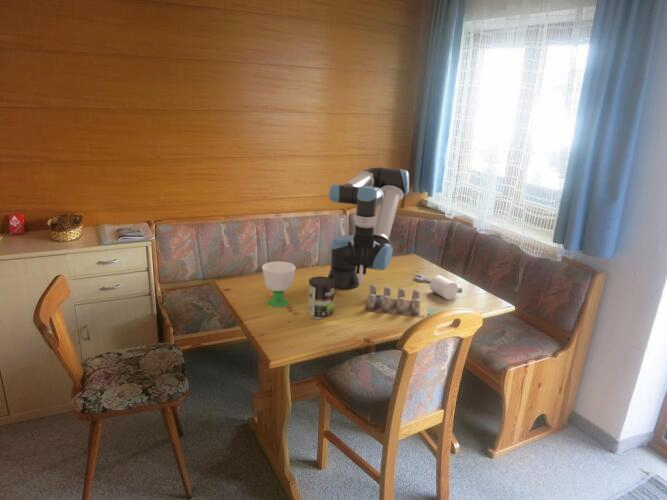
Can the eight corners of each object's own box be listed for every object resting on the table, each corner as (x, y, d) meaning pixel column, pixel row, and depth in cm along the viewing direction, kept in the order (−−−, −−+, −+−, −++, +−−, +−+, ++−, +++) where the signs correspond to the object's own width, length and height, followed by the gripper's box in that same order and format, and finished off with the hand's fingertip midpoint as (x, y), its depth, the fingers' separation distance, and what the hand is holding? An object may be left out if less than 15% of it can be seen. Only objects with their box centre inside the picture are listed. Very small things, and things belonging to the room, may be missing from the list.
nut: (372, 306, 199) (373, 298, 198) (373, 301, 204) (374, 294, 203) (383, 307, 199) (384, 299, 198) (384, 302, 204) (384, 295, 203)
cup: (281, 293, 210) (281, 259, 205) (301, 303, 201) (302, 268, 196) (254, 301, 201) (254, 265, 196) (275, 312, 192) (275, 275, 187)
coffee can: (338, 313, 194) (340, 280, 190) (324, 322, 186) (326, 287, 182) (317, 306, 199) (318, 274, 195) (302, 314, 191) (303, 281, 187)
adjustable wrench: (463, 292, 224) (463, 288, 224) (456, 295, 220) (456, 292, 219) (418, 276, 240) (418, 273, 240) (410, 279, 236) (411, 276, 235)
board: (364, 313, 195) (365, 297, 193) (368, 298, 210) (369, 283, 208) (419, 319, 192) (421, 303, 190) (419, 303, 207) (421, 288, 205)
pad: (420, 315, 196) (421, 313, 196) (420, 308, 203) (420, 306, 202) (440, 317, 195) (441, 315, 195) (440, 310, 202) (440, 308, 201)
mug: (442, 301, 212) (445, 283, 209) (428, 292, 220) (430, 276, 218) (463, 297, 217) (466, 280, 215) (449, 289, 226) (451, 273, 223)
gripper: (347, 226, 190) (343, 282, 197) (380, 229, 188) (375, 286, 195) (349, 222, 197) (346, 276, 204) (381, 224, 195) (377, 279, 202)
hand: (360, 281), depth 199 cm, fingers closed
